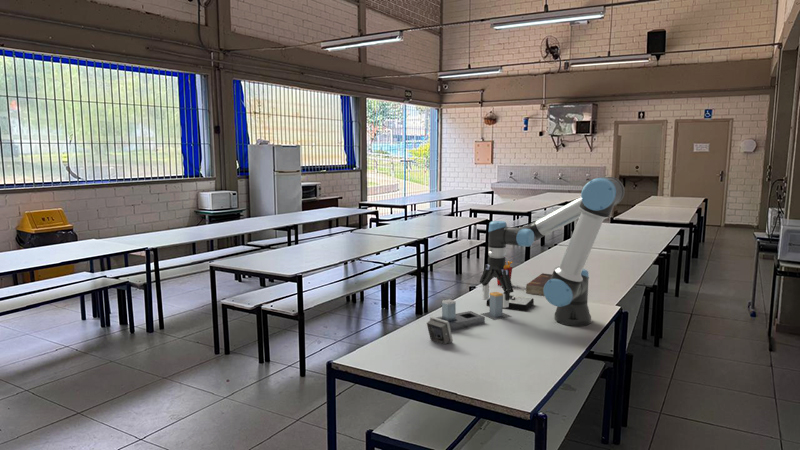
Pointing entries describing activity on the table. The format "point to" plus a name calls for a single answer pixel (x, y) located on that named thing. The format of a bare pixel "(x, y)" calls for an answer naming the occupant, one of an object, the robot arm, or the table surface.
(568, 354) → the table surface
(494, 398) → the table surface
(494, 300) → the plug
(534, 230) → the robot arm
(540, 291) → the hardback book
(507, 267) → the french fries
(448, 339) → the electrical switch
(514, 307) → the multimeter
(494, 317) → the mat
